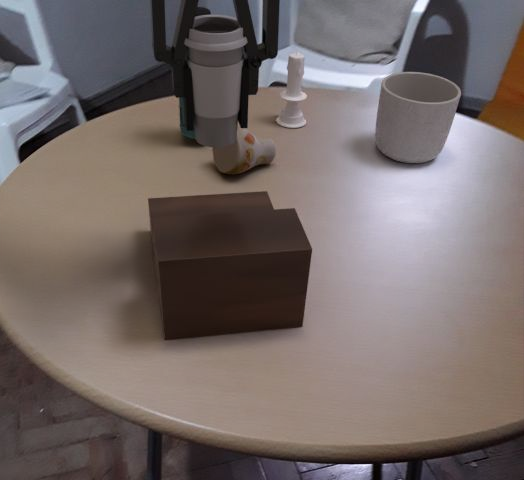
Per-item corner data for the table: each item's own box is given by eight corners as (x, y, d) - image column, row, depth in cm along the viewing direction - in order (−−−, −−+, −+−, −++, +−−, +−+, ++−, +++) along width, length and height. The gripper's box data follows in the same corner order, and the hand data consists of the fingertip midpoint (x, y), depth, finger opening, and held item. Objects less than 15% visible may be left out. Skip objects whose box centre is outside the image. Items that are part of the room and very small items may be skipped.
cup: (206, 119, 74) (203, 8, 66) (256, 132, 72) (260, 20, 64) (174, 143, 70) (167, 27, 61) (227, 158, 68) (227, 40, 59)
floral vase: (288, 168, 100) (274, 128, 91) (236, 201, 100) (217, 164, 91) (266, 138, 103) (250, 96, 94) (216, 170, 103) (195, 131, 94)
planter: (395, 175, 100) (410, 108, 92) (356, 141, 108) (367, 76, 100) (458, 163, 104) (477, 97, 96) (416, 130, 112) (431, 67, 104)
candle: (279, 113, 114) (284, 44, 106) (308, 117, 113) (315, 47, 105) (273, 126, 110) (278, 55, 102) (303, 130, 110) (310, 59, 101)
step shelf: (150, 230, 86) (143, 155, 78) (265, 222, 89) (269, 149, 81) (164, 340, 71) (158, 261, 63) (302, 326, 73) (312, 249, 66)
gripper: (307, -143, 58) (288, 106, 74) (103, -149, 55) (130, 112, 71) (329, -130, 52) (303, 135, 69) (105, -136, 49) (134, 143, 66)
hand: (215, 123), depth 70 cm, fingers closed on cup, 5 cm apart
